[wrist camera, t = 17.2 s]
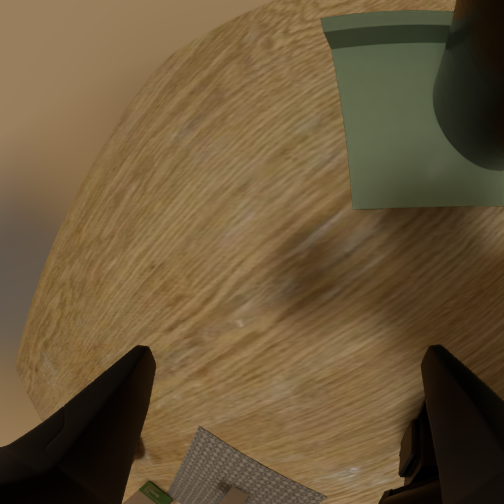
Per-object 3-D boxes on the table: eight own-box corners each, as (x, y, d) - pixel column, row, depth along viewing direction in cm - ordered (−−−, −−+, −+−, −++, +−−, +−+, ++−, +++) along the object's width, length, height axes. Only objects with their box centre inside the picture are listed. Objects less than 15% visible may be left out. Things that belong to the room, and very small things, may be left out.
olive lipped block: (561, 207, 13) (615, 209, 6) (360, 209, 19) (347, 209, 13) (536, 74, 12) (573, 35, 5) (342, 70, 18) (320, 17, 12)
